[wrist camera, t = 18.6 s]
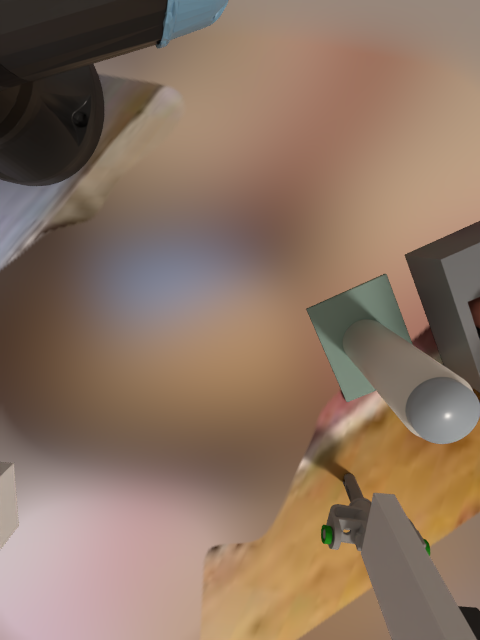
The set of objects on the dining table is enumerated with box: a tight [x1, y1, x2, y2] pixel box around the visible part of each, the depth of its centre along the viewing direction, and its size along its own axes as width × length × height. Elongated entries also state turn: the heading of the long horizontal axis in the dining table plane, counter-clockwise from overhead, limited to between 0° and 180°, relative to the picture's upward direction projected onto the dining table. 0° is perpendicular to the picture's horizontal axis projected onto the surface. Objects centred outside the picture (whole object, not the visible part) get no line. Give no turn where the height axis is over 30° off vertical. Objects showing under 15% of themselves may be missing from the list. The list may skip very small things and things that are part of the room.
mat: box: [307, 274, 413, 402], centre depth 39 cm, size 12×9×1 cm
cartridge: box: [343, 319, 480, 444], centre depth 31 cm, size 5×5×16 cm
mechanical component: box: [321, 474, 430, 556], centre depth 38 cm, size 3×10×10 cm, turn 81°
